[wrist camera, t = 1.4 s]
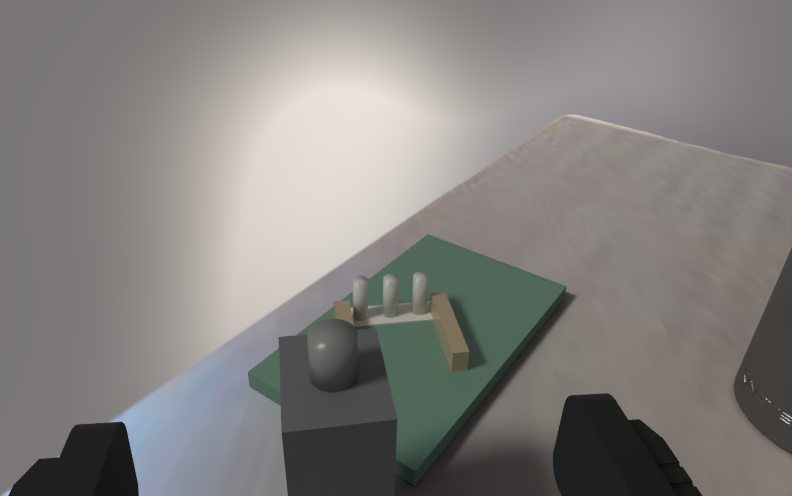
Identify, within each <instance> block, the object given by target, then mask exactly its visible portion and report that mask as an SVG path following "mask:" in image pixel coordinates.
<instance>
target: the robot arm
mask: <svg viewBox="0 0 792 496" xmlns="http://www.w3.org/2000/svg"><path fill="white" fill-rule="evenodd" d="M734 392H735V397H736V399H737V402H738V404H739V406H740V408H741V409H742V411H743V412H744V414H745V415H746V417H747V418H748V419H749V421H750V422H751V423H752V424H753V425H754V426H755V427H756V428H757V429H758V430H759V431H760V432H761V433H763V434H764V435H765V436H766V437H768V438H769V439H770V440H772V441H773V442H774V443H775V444H777V445H778V446H780V447H782V448H783V449H785V450H787V451H788V452H790V453H792V248H791V250H790V253H789V255H788V257H787V260H786V262H785V264H784V267H783V269H782V271H781V273H780V276H779V278H778V280H777V283H776V285H775V287H774V290H773V292H772V294H771V296H770V299H769V301H768V303H767V306H766V308H765V310H764V312H763V315H762V317H761V319H760V322H759V324H758V326H757V328H756V331H755V333H754V335H753V337H752V340H751V342H750V344H749V347H748V349H747V351H746V354H745V356H744V358H743V361H742V363H741V365H740V368H739V370H738V372H737V375H736V378H735V382H734ZM553 469H554V475H555V480H556V483H557V486H558V488H559V491H560V493H561V495H562V496H702V495H701V493H700V492H699V490H698V489H697V487H694V486H693V484H692V482H693V481H692V480H691V479H690V477H689V476H688V474H687V473H686V471H685V470H684V468H683V467H680V465H679V461H678V460H677V458H676V457H675V455H674V454H673V452H672V451H671V449H670V448H669V446H668V445H667V444H666V442H665V441H664V439H663V438H662V437H660V436H659V435H658V434H657V433H655V432H654V431H653V430H652V429H651V428H649V427H648V426H647V425H646V424H644V423H643V422H642V421H641V420H639V419H637V420H628V419H627V417H626V416H625V414H624V413H623V411H622V410H621V408H620V406H619V405H618V403H617V402H616V400H615V399H614V398H613V397H612V396H611V395H610V394H607V393H604V394H587V395H572V396H569V397H568V398H567V399H566V401H565V404H564V408H563V413H562V417H561V422H560V426H559V430H558V435H557V439H556V444H555V448H554V453H553ZM9 496H139V493H138V482H137V477H136V472H135V468H134V463H133V458H132V453H131V449H130V444H129V439H128V434H127V430H126V427H125V424H124V423H123V422H112V423H96V424H80V425H75V426H74V427H73V429H72V430H71V432H70V434H69V437H68V439H67V441H66V444H65V446H64V448H63V451H62V453H61V455H60V458H47V459H39V460H38V461H37V462H36V463H35V464H34V465H33V466H32V467H31V468H30V469H29V470H28V471H27V472H26V473H25V474H24V475H23V476H22V477H21V478H20V479H19V480H18V481H17V482H16V483H15V484H14V485H13V487H12V489H11V492H10V494H9Z"/></svg>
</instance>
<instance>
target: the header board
mask: <svg viewBox="0 0 792 496" xmlns="http://www.w3.org/2000/svg"><path fill="white" fill-rule="evenodd" d="M566 287H567V286H564V285H561V284H559V283H556V282H553V281H551V280H548V279H545V278H543V277H540V276H537V275H535V274H532V273H529V272H527V271H524V270H521V269H519V268H516V267H513V266H511V265H508V264H505V263H503V262H500V261H497V260H495V259H492V258H489V257H487V256H484V255H481V254H479V253H476V252H473V251H471V250H468V249H465V248H463V247H460V246H457V245H455V244H452V243H449V242H447V241H444V240H441V239H439V238H436V237H433V236H431V235H426V236H425V237H424V238H422V239H421V240H420V241H419V242H417V243H416V244H415V245H413V246H412V247H411V248H409V249H408V250H407V251H405V252H404V253H403V254H402V255H400V256H399V257H398V258H396V259H395V260H394V261H392V262H391V263H390V264H389V265H387V266H386V267H385V268H383V269H382V270H381V271H379V272H378V273H377V274H375V275H374V276H373V277H372V278H370V279H369V280H368V279H367V278H366V277H363V276H358V277H355V278H354V279H353V292H352V293H351V294H349V295H348V296H347V297H345V298H344V299H343V300H341V301H334V307H332V308H331V309H330V310H328V311H327V312H326V313H324V314H323V315H322V316H321V317H319V318H318V319H317V320H315V321H314V322H313V323H311V324H310V325H309V326H307V327H306V328H305V329H304V330H302V331H301V332H300V333H298V334H297V335H307V334H308V331H309V329H310V328H311V327H312V326H313V325H314V324H316V323H317V322H320V321H322V320H326V319H341V320H345V321H347V322H349V323H351V324H352V325H353V326H354V327H355V328H356V330H362V329H373V328H376V329H377V334H378V338H379V342H380V346H381V351H382V355H383V359H384V364H385V368H386V372H387V376H388V381H389V385H390V389H391V394H392V398H393V402H394V406H395V411H396V415H397V442H396V465H395V475H397V476H398V477H400V478H402V479H403V480H405V481H406V482H408V483H410V484H411V485H413V486H415V485H416V484H417V483H418V482H419V480H420V479H421V478H422V477H423V475H424V474H425V473H426V472H427V470H428V469H429V468H430V467H431V465H432V464H433V463H434V462H435V460H436V459H437V458H438V457H439V455H440V454H441V453H442V452H443V450H444V449H445V448H446V447H447V445H448V444H449V443H450V441H451V440H452V439H453V438H454V436H455V435H456V434H457V433H458V431H459V430H460V429H461V428H462V426H463V425H464V424H465V423H466V421H467V420H468V419H469V418H470V416H471V415H472V414H473V413H474V411H475V410H476V409H477V408H478V406H479V405H480V404H481V403H482V401H483V400H484V399H485V398H486V396H487V395H488V394H489V393H490V391H491V390H492V389H493V388H494V386H495V385H496V384H497V383H498V381H499V380H500V379H501V378H502V376H503V375H504V374H505V373H506V371H507V370H508V369H509V368H510V366H511V365H512V364H513V363H514V361H515V360H516V359H517V358H518V356H519V355H520V354H521V353H522V351H523V350H524V349H525V348H526V346H527V345H528V344H529V343H530V341H531V340H532V339H533V338H534V336H535V335H536V334H537V332H538V331H539V330H540V329H541V327H542V326H543V325H544V324H545V322H546V321H547V320H548V319H549V317H550V316H551V315H552V314H553V312H554V311H555V310H556V309H557V307H558V306H559V305H560V304H561V302H562V301H563V300H564V296H565V291H566ZM297 335H296V336H297ZM248 376H249V384H250V387H251V388H253V389H255V390H256V391H258V392H259V393H261V394H263V395H264V396H266V397H268V398H269V399H271V400H273V401H274V402H276V403H278V404H279V405H281V392H280V361H279V349H277V350H276V351H275V352H274V353H272V354H271V355H270V356H268V357H267V358H266V359H264V360H263V361H262V362H260V363H259V364H258V365H257V366H255V367H254V368H253V369H251V370H250V371H249V372H248Z"/></svg>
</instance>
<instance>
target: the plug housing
mask: <svg viewBox="0 0 792 496" xmlns="http://www.w3.org/2000/svg"><path fill="white" fill-rule="evenodd" d="M279 361H280V392H281V423H282V440H283V450H284V460H285V470H286V480H287V490H288V496H394V488H395V465H396V442H397V415H396V411H395V406H394V402H393V398H392V394H391V389H390V385H389V381H388V376H387V372H386V368H385V364H384V359H383V355H382V351H381V346H380V342H379V338H378V334H377V329H376V328H373V329H362V330H356V328H355V327H354V326H353V325H352V324H351V323H349V322H347V321H345V320H341V319H326V320H322V321H320V322H317V323H316V324H314V325H313V326H312V327H311V328H310V329H309V331H308V334H307V335H297V336H286V337H279Z"/></svg>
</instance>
